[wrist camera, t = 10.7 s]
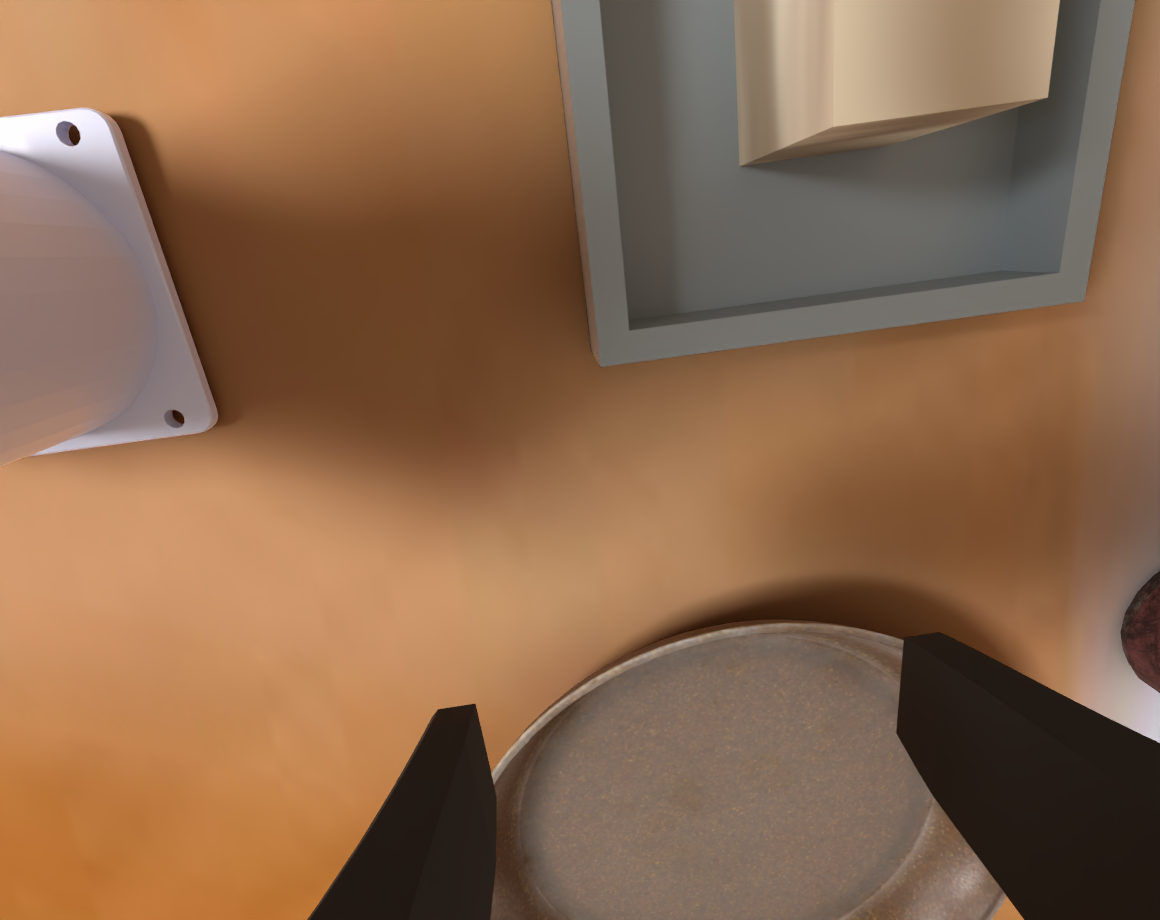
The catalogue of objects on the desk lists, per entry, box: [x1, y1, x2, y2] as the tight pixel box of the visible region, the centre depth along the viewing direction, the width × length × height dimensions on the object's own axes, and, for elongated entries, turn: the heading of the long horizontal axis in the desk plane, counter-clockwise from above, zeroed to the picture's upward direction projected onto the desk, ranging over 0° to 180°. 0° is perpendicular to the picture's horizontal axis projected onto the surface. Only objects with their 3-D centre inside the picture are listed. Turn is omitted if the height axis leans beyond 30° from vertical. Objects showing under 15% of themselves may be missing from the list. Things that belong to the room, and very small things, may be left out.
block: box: [734, 0, 1060, 166], centre depth 12 cm, size 4×4×5 cm
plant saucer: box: [490, 619, 1006, 920], centre depth 22 cm, size 21×21×3 cm
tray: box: [551, 0, 1135, 367], centre depth 14 cm, size 13×13×2 cm
